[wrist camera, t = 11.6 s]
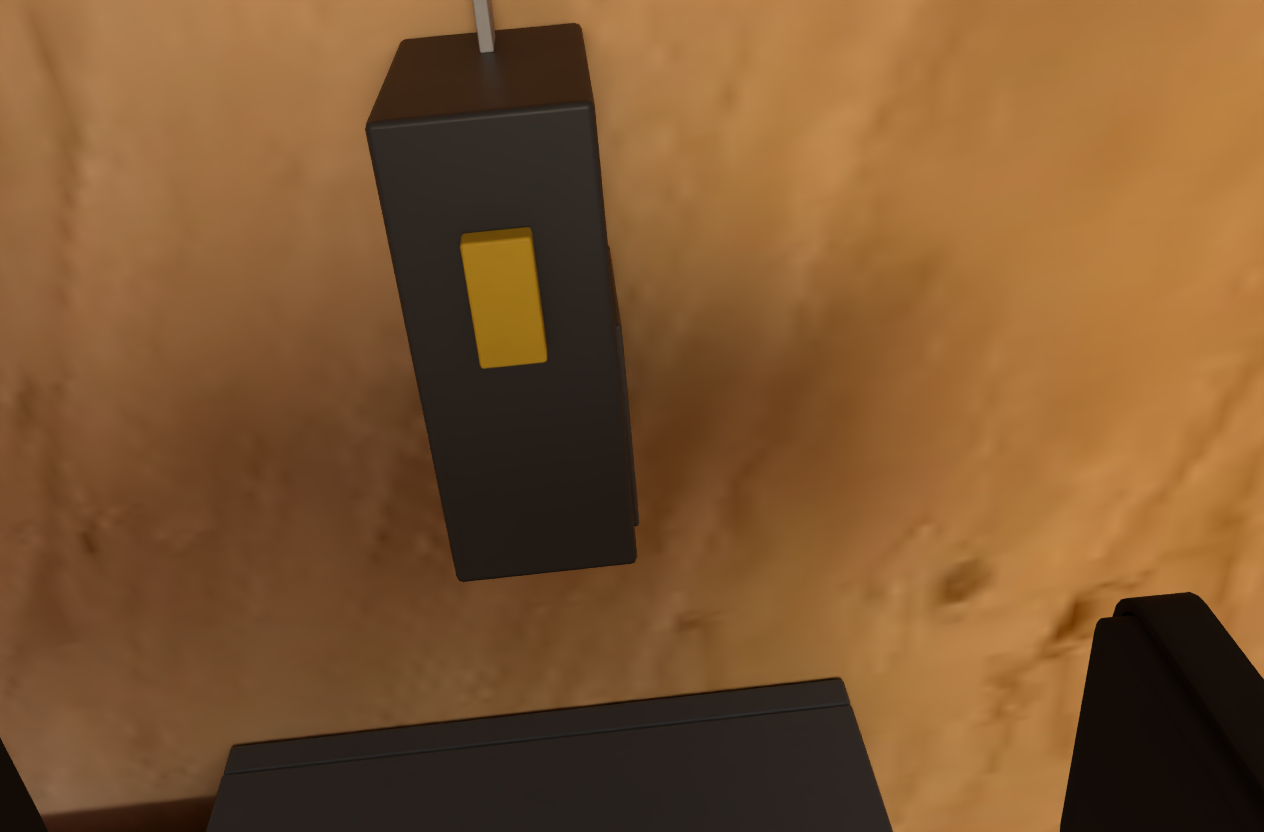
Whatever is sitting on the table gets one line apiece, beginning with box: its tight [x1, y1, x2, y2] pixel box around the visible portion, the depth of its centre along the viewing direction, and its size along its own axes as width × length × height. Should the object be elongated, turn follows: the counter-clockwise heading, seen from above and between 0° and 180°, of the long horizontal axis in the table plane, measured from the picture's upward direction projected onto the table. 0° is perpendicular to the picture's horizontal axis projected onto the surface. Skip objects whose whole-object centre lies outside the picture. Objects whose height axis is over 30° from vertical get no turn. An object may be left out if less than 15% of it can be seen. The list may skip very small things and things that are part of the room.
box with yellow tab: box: [365, 0, 639, 582], centre depth 17 cm, size 3×8×5 cm, turn 4°
